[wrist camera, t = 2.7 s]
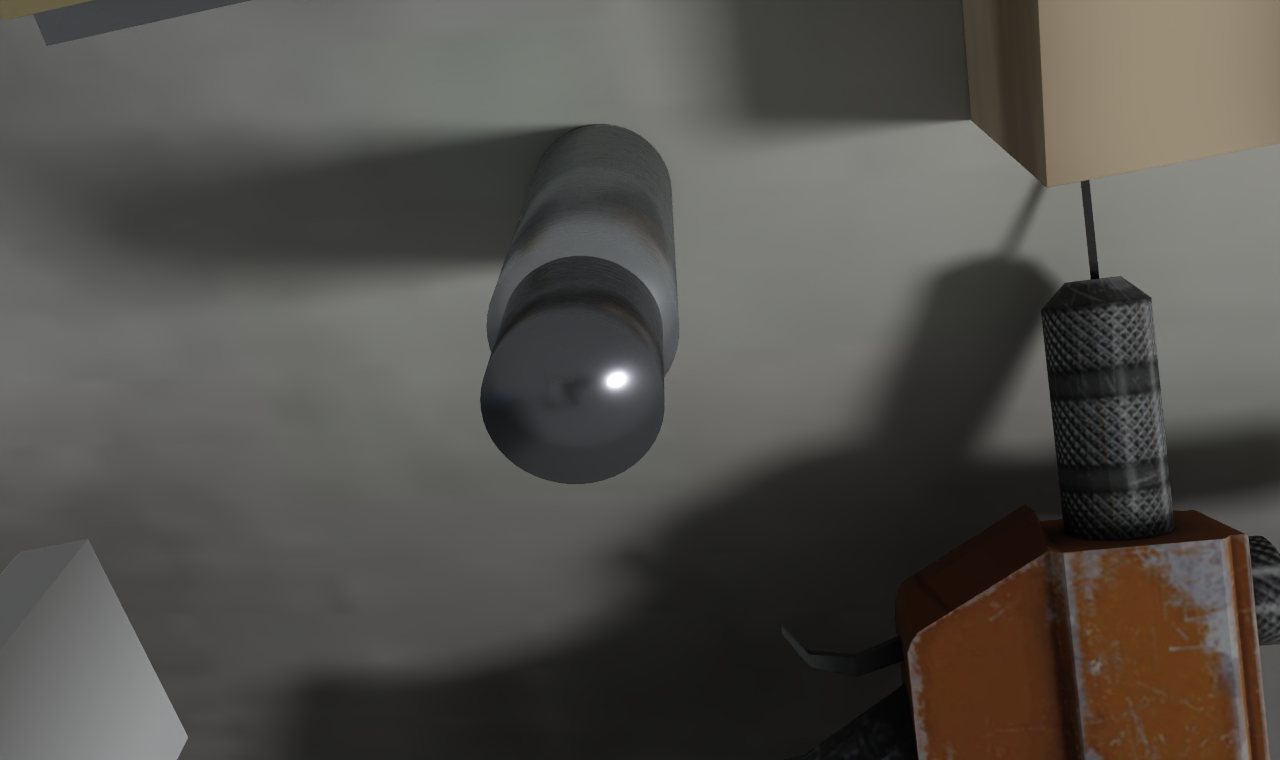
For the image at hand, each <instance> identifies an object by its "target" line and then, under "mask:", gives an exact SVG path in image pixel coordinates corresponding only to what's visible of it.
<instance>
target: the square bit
mask: <svg viewBox="0 0 1280 760" xmlns="http://www.w3.org/2000/svg"><path fill="white" fill-rule="evenodd" d="M245 1H249V0H0V14H1V16H2V18H3V21H4V20H8V19H13V18H17V17H22V16H26V15H30V14H34V17H35V19H36V21H37V24H38V26H39V28H40V31H41V33H42V35H43V38H44V40H45V42H46V45H47V46H48V45H52V44H57V43H61V42H66V41H70V40H75V39H79V38H84V37H88V36H93V35H97V34H102V33H106V32H111V31H115V30H120V29H124V28H129V27H133V26H138V25H142V24H146V23H151V22H155V21H160V20H164V19H169V18H173V17H178V16H182V15H187V14H191V13H196V12H200V11H205V10H209V9H214V8H218V7H223V6H227V5H232V4H236V3H241V2H245Z"/></svg>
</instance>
